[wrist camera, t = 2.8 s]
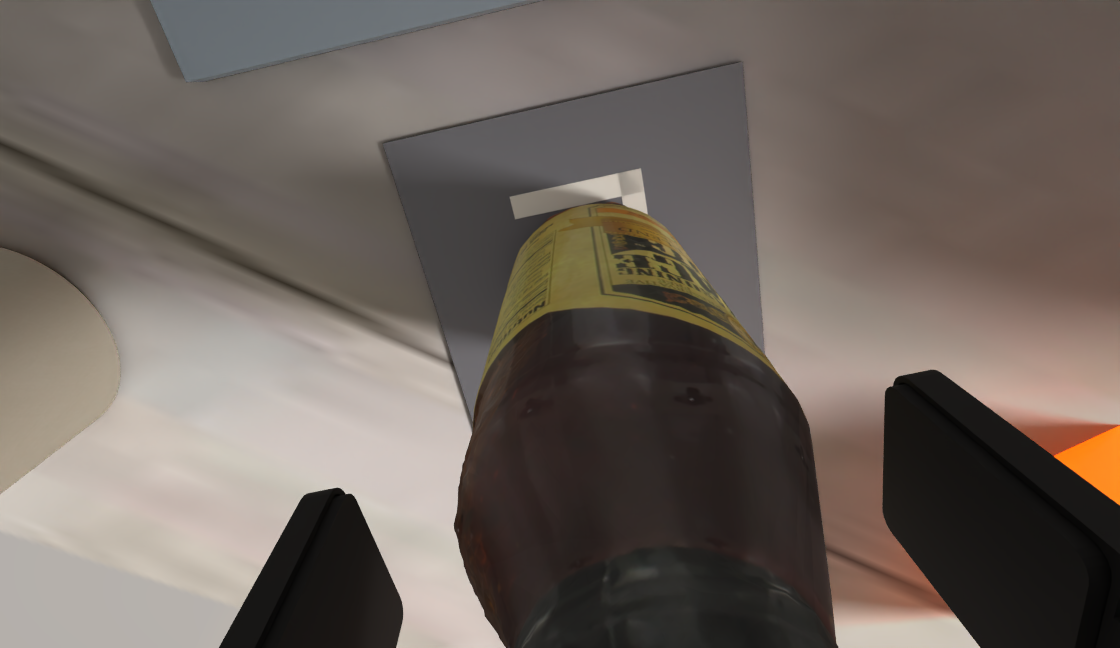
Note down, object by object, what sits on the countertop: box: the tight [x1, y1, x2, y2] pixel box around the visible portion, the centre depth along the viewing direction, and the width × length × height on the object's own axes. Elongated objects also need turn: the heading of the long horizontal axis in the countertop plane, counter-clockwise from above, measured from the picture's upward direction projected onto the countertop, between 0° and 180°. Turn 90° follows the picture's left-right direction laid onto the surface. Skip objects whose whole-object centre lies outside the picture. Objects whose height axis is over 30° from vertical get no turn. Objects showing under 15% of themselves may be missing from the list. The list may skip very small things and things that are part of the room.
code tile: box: [383, 62, 765, 421], centre depth 21 cm, size 12×12×1 cm
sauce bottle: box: [454, 202, 838, 648], centre depth 12 cm, size 6×6×20 cm
